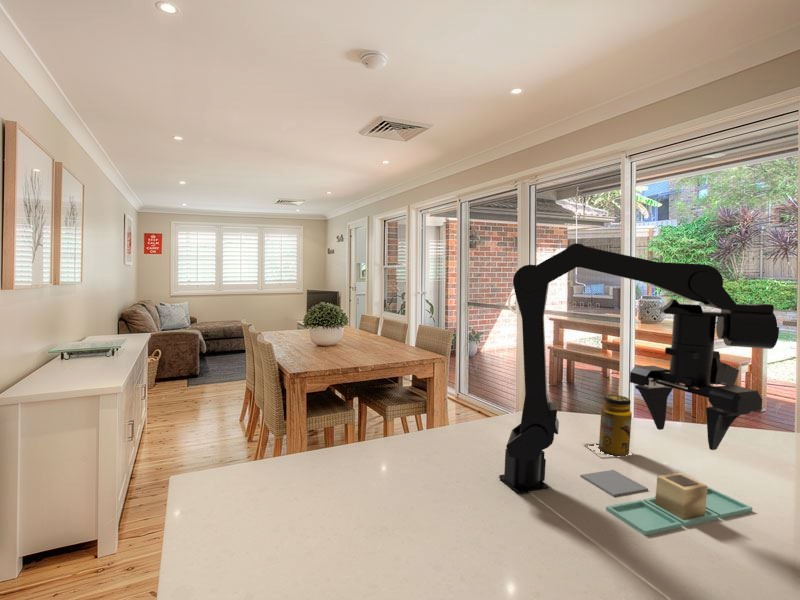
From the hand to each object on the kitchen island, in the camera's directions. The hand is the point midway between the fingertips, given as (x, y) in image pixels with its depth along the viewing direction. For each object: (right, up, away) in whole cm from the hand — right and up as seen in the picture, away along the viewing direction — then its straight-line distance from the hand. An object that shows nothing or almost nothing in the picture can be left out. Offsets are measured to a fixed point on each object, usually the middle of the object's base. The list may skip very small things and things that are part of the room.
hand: (685, 438), depth 75 cm
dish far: (+7, -12, +4) cm, 15 cm away
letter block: (0, -12, +1) cm, 12 cm away
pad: (-7, -11, +10) cm, 17 cm away
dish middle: (0, -12, +1) cm, 12 cm away
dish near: (-8, -12, -2) cm, 15 cm away
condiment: (0, -11, +26) cm, 29 cm away
